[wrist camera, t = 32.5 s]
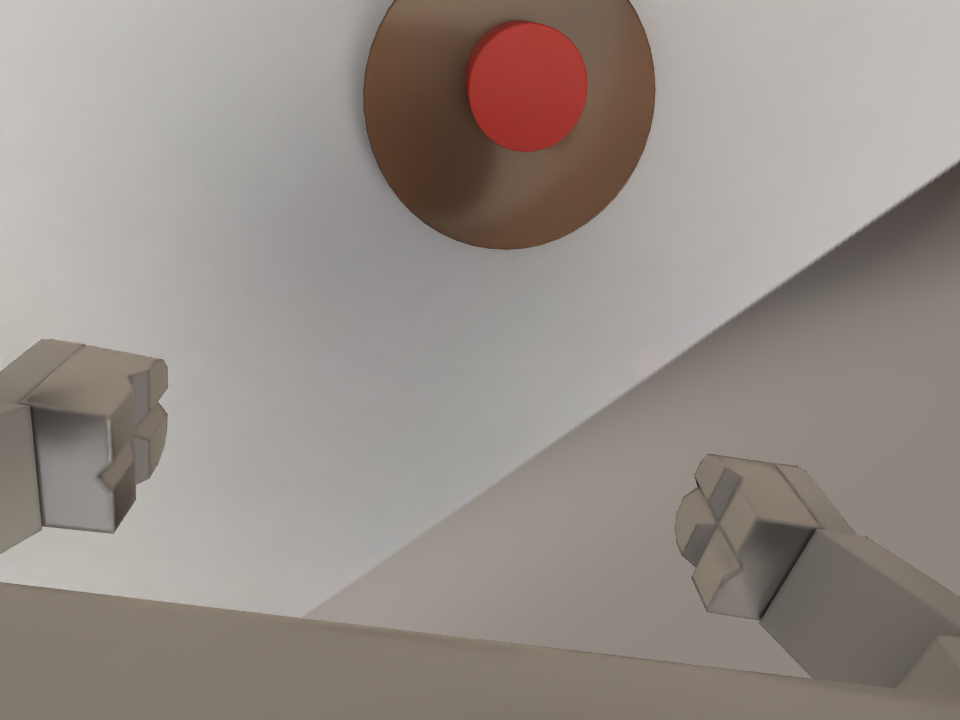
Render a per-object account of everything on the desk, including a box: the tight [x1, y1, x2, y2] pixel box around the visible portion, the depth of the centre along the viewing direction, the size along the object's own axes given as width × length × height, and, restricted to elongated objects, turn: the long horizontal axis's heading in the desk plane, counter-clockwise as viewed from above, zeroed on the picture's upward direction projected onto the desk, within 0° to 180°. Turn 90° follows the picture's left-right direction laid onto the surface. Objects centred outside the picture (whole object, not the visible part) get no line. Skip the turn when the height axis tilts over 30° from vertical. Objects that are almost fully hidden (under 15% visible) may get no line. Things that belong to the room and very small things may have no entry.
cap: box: [465, 20, 588, 152], centre depth 23 cm, size 4×4×3 cm
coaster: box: [363, 0, 655, 250], centre depth 25 cm, size 11×11×1 cm
